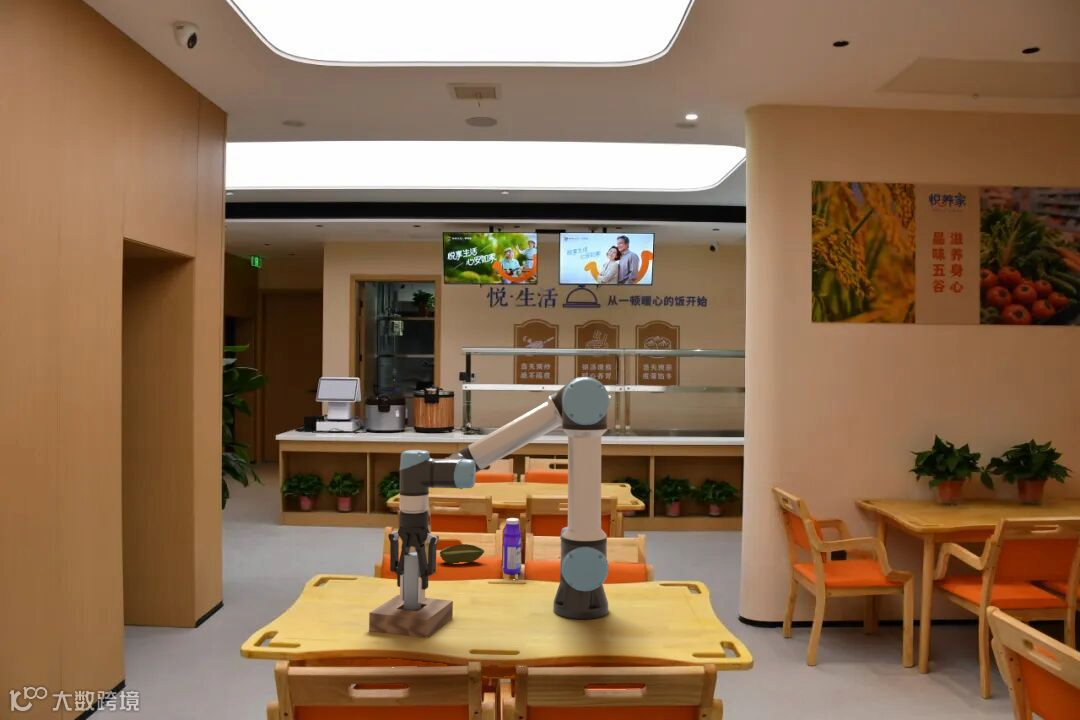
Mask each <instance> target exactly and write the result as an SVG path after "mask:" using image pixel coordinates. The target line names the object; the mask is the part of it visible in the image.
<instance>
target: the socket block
mask: <svg viewBox="0 0 1080 720" xmlns="http://www.w3.org/2000/svg"><path fill="white" fill-rule="evenodd" d="M453 604H454V600H450V599H440V598H431V597H425V600H424V601H423V602H421V609H420V610H419V611H411V610H403V605H404V600H403V601H400V594H397V595H395V596H394V597H392V598H391V599H389V600H388V601H386V602H384V603H383V604H381V605H379V606H378V607H376V608H375V609H372V611H370V612H369V613H368V615H369V618H368V621H369V622H368V631H369V632H370V631H371V632H379V633H385V634H386V633H387V634H395V635H403V636H410V637H419V638H425V639H426V638H429V637H430V636H432V635H433V634H434V633H435V632H436V631H438V630H439V629H440V628H441V627H443V626H444V625H445V624H447V623H448V622H449V621H451V619H453V617H454V616H453V615H454V614H453V613H454V612H453V611H454V605H453Z"/></svg>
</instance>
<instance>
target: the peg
mask: <svg viewBox="0 0 1080 720" xmlns="http://www.w3.org/2000/svg"><path fill="white" fill-rule="evenodd" d="M420 576H421V572H420V566H419V561H418V556H417V553H408V554H406V555H404V605H403V610H411V611H419V610H420V609H421V603H418V577H420Z"/></svg>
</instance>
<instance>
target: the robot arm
mask: <svg viewBox="0 0 1080 720" xmlns="http://www.w3.org/2000/svg"><path fill="white" fill-rule="evenodd" d="M547 397H548V398H547V400H546V402H544V403H542V404H540V405H538V406H536V407H535V408H533V409H531V410H530V411H528V412H525V413H523V414H522V415H520V416H519V417H517V418H515V419H514V420H511V421H509V422H508V423H506V424H505V425H503V426H501V427H499V428H498V429H496V430H494V431H492V432H490V433H488V434H487V435H485V436H483V437H482V438H480V439H478V440H476V441H474V442H473V443H471V444H469V445H467V446H465V447H464V448H462V449H460V450H458V451H455V452H454V453H451V454H450V455H449V456H448V457H447V458H433V457H432V458H431V456H430V451H428V450H422V449H409V450H405V451H403V452H402V453H400V463H399V504H398V505H399V506H398V508H399V510H400V511H399V512H398V525H399V528H398V530H397V531H393V532H391V533H388V541H389V546H390V547H389V550H390V551H389V552H390V553H389V556H390V557H389V558H390V559H389V560H390V561H389V562H390V567H389V568H390V572H391V573H395V574H396V577H397V578H396V580H397V582H396V583H397V584H396V586H397V587H398V588H399V595H400V601H403V600H404V555H406V554H408V553H409V550H410V548H411V546H413V547H415V550H416V551H417V556H418V561H419V566H420V572H421V576H420V577H418V603H421V602H423V601H424V600H425V598H426V590H427V589H428V588H429V577H430V576H432V575H434V574H435V573H436V572H437V545H438V542H439V539H440V537H439V535H433V534H432V533H431V534H430V532H429V530H428V511H427V509H428V508H430V507H429V506H430V505H429V504H430V503H429V500H430V499H429V496H430V495H429V493H430V492H429V488H431V489H437V488H438V489H459V490H463V489H471V488H474V486H475V485H476V475H477V473H478V472H480V471H482V470H483V469H485V468H487V467H489V466H490V465H492V464H494V463H496V462H497V461H500V460H501V459H504V458H505V457H506V456H508V455H511V454H512V453H514V452H516V451H518V450H519V449H521V448H522V447H524V446H526V445H528V444H530V443H532V442H533V441H535V440H537V439H539V438H541V437H542V436H544V435H546V434H548V433H550V432H551V431H553V430H555V429H557V428H558V427H560V426H562V431H563V432H564V433H565V434H566V435H567V438H568V439H567V526H565V527H562V528H561V532H560V537H559V538H560V565H559V566H560V567H559V568H560V574H559V575H560V576H559V577H560V578H559V580H560V581H559V585H558V588H557V590H556V593H555V597H554V600H553V604H552V605H553V610H552V611H553V612H554V613H555V614H556V615H558V616H561V617H563V618H569V619H575V620H591V619H592V620H593V619H599V618H602V617H604V616H606V615H608V613H609V602H608V598H607V594H606V591H605V587H604V585H603V584H604V582H605V581H606V580H607V577H608V573H609V563H608V561H609V560H608V559H607V558H608V557H607V556H608V554H607V553H608V551H607V550H608V536H607V534H606V532H605V531H604V530H603V529H602V436H603V435H604V434H605V433H606V432H607V430H608V410H609V406H610V396H609V392H608V390H607V389H606V387H605V386H604V384H603V383H602V382H601V381H599V380H598V379H596V378H593V377H591V376H578V377H575V378H573V379H571V380H569V381H568V382H566V384H565V385H564V386H563V387H561V388H560V389H558V390H557V391H556V392H554V393H552V394H550V395H548V396H547ZM427 538H428V543H429V547H428V562H427V558H426V552H425V540H426V539H427ZM399 539H400V540H401V548H400V543H399ZM402 541H403V542H402ZM399 549H400V553H399ZM399 554H400V555H399Z"/></svg>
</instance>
